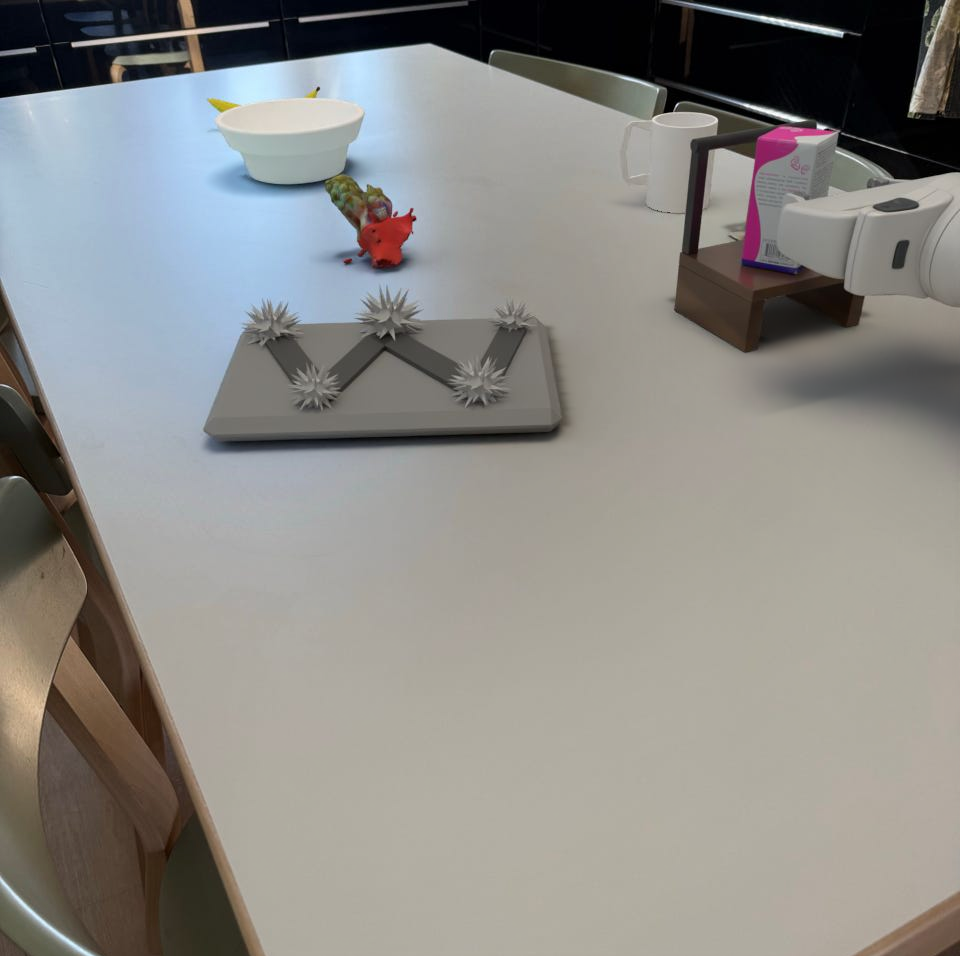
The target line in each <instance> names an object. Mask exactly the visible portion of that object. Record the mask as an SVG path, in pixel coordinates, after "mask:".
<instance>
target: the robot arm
mask: <svg viewBox="0 0 960 956" xmlns="http://www.w3.org/2000/svg"><path fill="white" fill-rule="evenodd" d="M809 198H810V195H807V194H804V193H802V192H794V193H788V194H785V195H784V196H783V200H782V206H781V216H780V220H779V225H778V232H777V247H778V250H779V251H780V252H781V253H782V254H783V255H785V256H786V257H788V258H790V259H791V260H793V261H795V262H797V263H799V264H801V265H803V266H805V267H807V268H809V269H811V270H813V271H815V272H817V273H819V274H822V275H825V276H828V277H831V278H837V279H845V281H844V289H845V290H847V291H848V292H850V293H853V294H855V295H859V296H865V297H867V296H870V297H872V296H907V297H913V298H918V299H927V298H929V299H931V300H934V301H935V302H939V303H941V304H943V305H945V306H949V307H952V308H959V309H960V172H948V173H943V174H939V175H933V176H928V177H927V176H926V177H923V178H917V179H899V178H898V179H896V178H895V179H894V178H891V177H889V176H885V175H881V176H874V177H870V178H869V179H867V182H866V188H864V189H859V190H854V191H853V190H852V191H849V192H848V191H847V192H843V193H838V194H832V195H828V196H827V197H821V198H816V199H811V200H809Z"/></svg>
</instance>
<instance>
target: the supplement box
mask: <svg viewBox="0 0 960 956" xmlns="http://www.w3.org/2000/svg"><path fill="white" fill-rule="evenodd" d="M838 138H839V131H834V130H824V129H806V128H797V127H787V126H780V127H778V128H776V129H774V130H773V131H771V132H769V133H767V134H765V135H762V136H760V137H759V138H758V140H757V143H756V148H755V157H754V164H753V171H752V177H751V184H752V185H751V184H750V190H751V192H750V191H749V198H750V200H749V199H748V205H749V207H748V206H747V212H748V215H747V214H746V218H747V222H746V221H745V225H746V230H745V229H744V231H745V237H744V244H743V252H742V259H741V265H746V266H752V267H758V268H763V269H769V270H775V271H780V272H785V273H790V274H797V273H798V272H800V271H801V270H802V269H803V268H804V267H805V266H803V265H801V264H799V263H797V262H795V261H793V260H791V259H790V258H788V257H786V256H785V255H783V254H782V253H781V252H780V251H779V250H778V247H777V232H778V225H779V220H780V216H781V206H782V200H783V196H784V195H785V194H788V193H794V192H802V193H804V194H807V195H810V198H809V200H811V199H816V198H821V197H827V196H829V190H830V185H831V184H830V183H831V179H832V173H833V167H834V161H835V156H836V152H837V151H836V150H837V146H838Z"/></svg>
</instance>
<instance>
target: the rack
mask: <svg viewBox="0 0 960 956" xmlns="http://www.w3.org/2000/svg"><path fill="white" fill-rule="evenodd" d="M780 126H787V127H797V128H806V129H816V130H818V124H817V121H816V120H815V119H808V120H801V121H795V122H790V123H782V124H777V125H770V126H764V127H758V128H751V129H746V130H740V131H733V132H728V133H727V132H726V133H721V134H720V133H719V134H717V135H714V136H708V137H702V138H695V139H692V141H691V143H690V148H691V151H692V152H691V162H690V172H689V182H688V192H687V203H686V213H684V222H683V223H684V224H683V226H684V227H683V232H682V233H683V234H682V244H681V252H679V258H678V268H677V279H676V290H675V297H674V298H675V300H674V311H675V312H676V311H677V312H676V313H678V314H680V315H681V314H682V317H685V318H686V317H687V319H689V321H691V320H692V323H695V324H696V325H698V326H700V327H701V328H703V329H705V330H706V331H708V332H710V333H712V334H713V335H715V336H717V337H718V338H719V339H721V340H723V341H725V342H727V343H729V344H730V345H731V346H734V347H735V348H737V349H738V350H739V351H741V352H743V353H747V352H751V351H757V350H759V349H758V348H759V344H760V338H761V337H760V336H761V330H762V323H763V317H764V311H765V304H766V301H768V300H771V299H772V300H773V299H776V298H780V297H784V296H785V297H786V298H788V299H790V300H792V301H794V302H796V303H797V304H799V305H802V306H803V307H806V308H808V309H809V310H812V311H814V312H816V313H817V314H819V315H821V316H823V317H825V318H827V319H830V320H831V321H833V322H835V323H837V324H838V325H841V326H843V327H845V328H849V327H854V326H857V325H860V321H861V317H862V311H863V306H864V301H865V298H866V296H859V295H855V294H853V293H850V292H848V291H847V290H845V289H844V281H845V279H837V278H831V277H828V276H825V275H822V274H819V273H817V272H815V271H813V270H811V269H809V268H807V267H804V268H803V269H802V270H801V271H800V272H798V273H797V274H790V273H785V272H780V271H775V270H769V269H763V268H758V267H752V266H746V265H741V259H742V252H743V244H744V240H734V241H729V242H725V243H720V244H715V245H710V246H705V247H700V248H699V246H700V236H701V228H702V219H703V211H704V209H703V201H704V192H705V183H706V173H707V164H708V155H709V150H714V149H715V150H720V149H725V148H732V147H737V146H739V147H740V146H744V145H749V144H755V143H756V144H757V140H758V138H759V137H760V136H762V135H765V134H767V133H769V132H771V131H773V130H774V129H776V128H778V127H780Z"/></svg>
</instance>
